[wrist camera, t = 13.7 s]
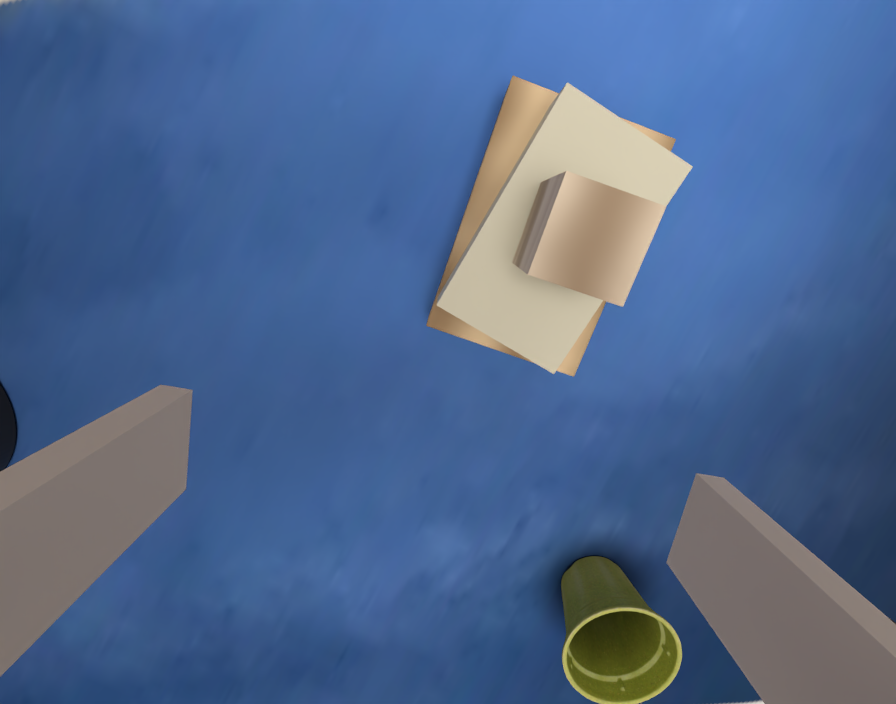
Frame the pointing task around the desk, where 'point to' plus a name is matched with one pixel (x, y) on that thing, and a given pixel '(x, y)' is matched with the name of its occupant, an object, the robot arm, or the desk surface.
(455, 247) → the bottom block
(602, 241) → the ash block
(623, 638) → the plant pot
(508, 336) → the middle block
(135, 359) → the desk surface
